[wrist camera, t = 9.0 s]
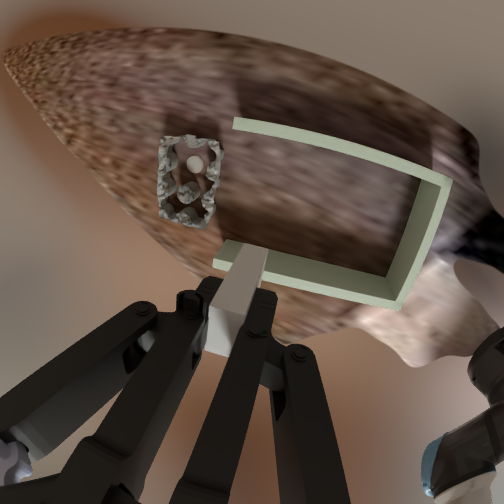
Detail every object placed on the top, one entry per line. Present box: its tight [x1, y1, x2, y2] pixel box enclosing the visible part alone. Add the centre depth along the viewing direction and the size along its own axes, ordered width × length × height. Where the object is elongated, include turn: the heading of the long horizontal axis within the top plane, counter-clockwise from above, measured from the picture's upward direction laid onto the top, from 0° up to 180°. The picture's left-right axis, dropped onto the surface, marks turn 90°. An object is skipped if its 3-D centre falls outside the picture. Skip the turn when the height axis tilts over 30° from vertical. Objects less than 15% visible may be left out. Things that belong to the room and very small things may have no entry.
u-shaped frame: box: [213, 117, 453, 311], centre depth 29 cm, size 23×16×6 cm
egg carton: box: [157, 134, 224, 230], centre depth 32 cm, size 11×8×4 cm
